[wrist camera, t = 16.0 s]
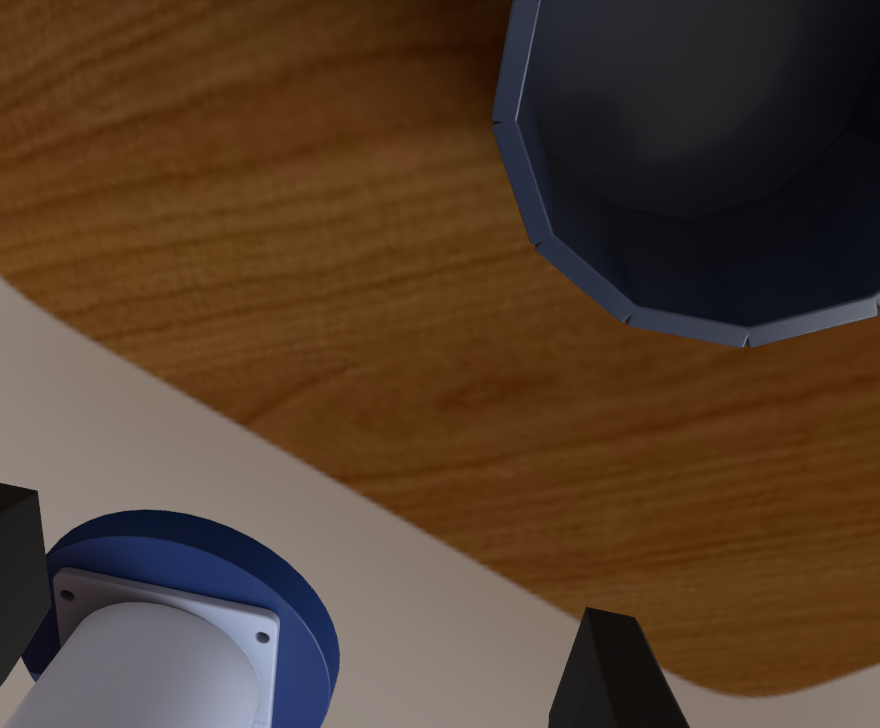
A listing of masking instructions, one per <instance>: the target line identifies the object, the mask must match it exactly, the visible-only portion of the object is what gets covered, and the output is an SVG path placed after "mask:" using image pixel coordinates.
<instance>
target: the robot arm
mask: <svg viewBox="0 0 880 728" xmlns="http://www.w3.org/2000/svg"><path fill="white" fill-rule="evenodd" d="M53 585H54V594H55V603H56V612H57V621H58V629H59V638H60V647H61V649H60V651H59V652H58V653H57V655H56V656H55V657H54V659H53V660H52V661H51V663H50V664H49V665H48V667H47V668H46V670H45V671H44V672H43V674H42V675H41V676H40V678H39V679H38V680H37V682H36V683H35V684H34V686H33V687H32V688H31V690H30V691H29V692H28V694H27V695H26V696H25V698H24V699H23V701H22V702H21V703H20V704H19V706H18V707H17V708H16V710H15V711H14V712H13V714H12V715H11V716H10V718H9V719H8V720H7V722H6V723H5V725H4V726H3V727H2V728H272V716H273V704H274V692H275V680H276V668H277V655H278V643H279V631H280V619H279V617H278V616H277V614H276V613H274V612H273V611H271V610H268V609H264V608H260V607H255V606H250V605H246V604H241V603H236V602H231V601H227V600H222V599H217V598H213V597H208V596H203V595H199V594H194V593H189V592H184V591H180V590H175V589H170V588H166V587H161V586H156V585H152V584H147V583H142V582H138V581H133V580H128V579H123V578H119V577H114V576H109V575H105V574H100V573H95V572H91V571H86V570H81V569H76V568H72V567H65V568H61V570H60V571H59V572H58V573H57V574H56V575H55V576H54V579H53ZM51 606H52V604H51V596H50V588H49V579H48V571H47V563H46V555H45V547H44V539H43V531H42V522H41V515H40V506H39V498H38V491H36V490H31V489H27V488H22V487H17V486H12V485H8V484H3V483H0V686H1V685H2V684H3V682H4V681H5V680H6V678H7V677H8V675H9V674H10V672H11V671H12V669H13V667H14V666H15V665H16V663H17V661H18V660H19V658H20V657H21V655H22V654H23V652H24V651H25V649H26V647H27V646H28V644H29V643H30V641H31V639H32V638H33V636H34V634H35V633H36V631H37V629H38V628H39V626H40V624H41V623H42V621H43V619H44V618H45V616H46V614H47V613H48V611H49V609H50V608H51ZM262 632H263V633H262ZM264 633H266V634H264ZM548 728H690V727H689V725H688V723H687V721H686V719H685V717H684V715H683V713H682V711H681V709H680V707H679V705H678V703H677V701H676V699H675V697H674V695H673V693H672V691H671V689H670V687H669V685H668V683H667V681H666V679H665V677H664V675H663V673H662V671H661V669H660V667H659V665H658V662H657V660H656V658H655V656H654V654H653V652H652V650H651V648H650V646H649V644H648V641H647V639H646V637H645V635H644V633H643V631H642V629H641V627H640V625H639V623H638V622H637V620H636V619H635V617H631V616H626V615H621V614H617V613H612V612H607V611H603V610H598V609H593V608H588V607H586V609H585V612H584V615H583V618H582V621H581V624H580V627H579V630H578V632H577V635H576V638H575V641H574V644H573V647H572V650H571V652H570V656H569V658H568V661H567V664H566V667H565V670H564V673H563V676H562V678H561V681H560V684H559V687H558V690H557V693H556V696H555V698H554V701H553V704H552V707H551V710H550V713H549V726H548Z"/></svg>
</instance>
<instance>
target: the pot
mask: <svg viewBox="0 0 880 728" xmlns="http://www.w3.org/2000/svg"><path fill="white" fill-rule="evenodd" d="M491 119H492V120H493V124H492V131H493V134H494V137H495V140H496V143H497V146H498V149H499V152H500V155H501V158H502V160H503V163H504V166H505V169H506V172H507V175H508V178H509V181H510V184H511V187H512V190H513V193H514V196H515V199H516V202H517V205H518V208H519V211H520V214H521V217H522V220H523V223H524V226H525V229H526V231H527V234H528V237H529V240H530V243H531V244H535V250H536V251H537V252H538V253H539V254H540V255H541V256H543V257H544V258H545V259H546V260H547V261H549V262H550V263H551V264H552V265H553V266H554V267H556V268H557V269H558V270H559V271H560V272H562V273H563V274H564V275H565V276H566V277H567V278H569V279H570V280H571V281H572V282H573V283H575V284H576V285H577V286H578V287H579V288H580V289H582V290H583V291H584V292H585V293H586V294H588V295H589V296H590V297H591V298H592V299H593V300H595V301H596V302H597V303H598V304H599V305H601V306H602V307H603V308H604V309H605V310H606V311H608V312H609V313H610V314H611V315H612V316H614V317H615V318H616V319H617V320H618V321H619V322H624V321H625V320H626V323H627V325H628V326H631V327H637V328H642V329H647V330H652V331H657V332H662V333H667V334H672V335H677V336H683V337H688V338H693V339H698V340H703V341H708V342H713V343H718V344H724V345H729V346H734V347H739V348H743V347H744V346H745V343H746V344H747V345H748V347H750V348H752V347H756V346H760V345H764V344H768V343H772V342H776V341H780V340H784V339H788V338H792V337H796V336H800V335H804V334H808V333H812V332H816V331H820V330H824V329H828V328H832V327H836V326H840V325H844V324H848V323H852V322H856V321H860V320H863V319H867V318H871V317H875V316H878V308H879V309H880V0H512V4H511V9H510V15H509V20H508V26H507V31H506V37H505V42H504V48H503V53H502V59H501V64H500V69H499V75H498V80H497V86H496V91H495V97H494V102H493V108H492V113H491Z"/></svg>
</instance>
